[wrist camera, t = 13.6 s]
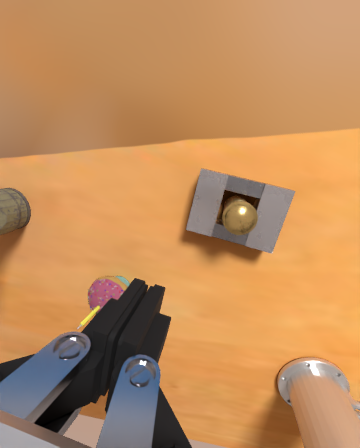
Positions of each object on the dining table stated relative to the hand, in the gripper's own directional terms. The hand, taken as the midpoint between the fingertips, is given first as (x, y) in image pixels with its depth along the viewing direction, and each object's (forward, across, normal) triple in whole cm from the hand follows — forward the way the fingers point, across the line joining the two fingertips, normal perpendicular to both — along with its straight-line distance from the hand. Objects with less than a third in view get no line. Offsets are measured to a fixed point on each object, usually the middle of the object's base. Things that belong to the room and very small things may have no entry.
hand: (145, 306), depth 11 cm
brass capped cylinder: (+29, -6, -2) cm, 30 cm away
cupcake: (+29, +12, +20) cm, 37 cm away
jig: (+29, -6, -2) cm, 30 cm away
